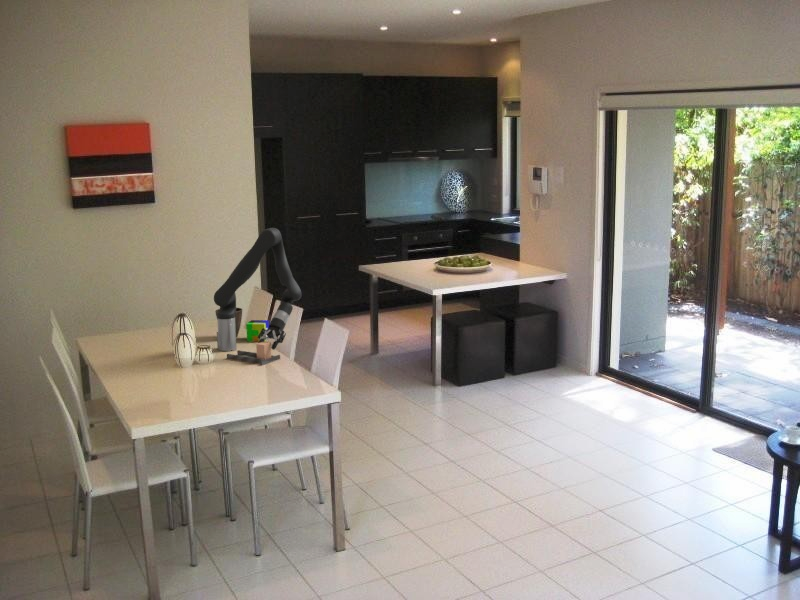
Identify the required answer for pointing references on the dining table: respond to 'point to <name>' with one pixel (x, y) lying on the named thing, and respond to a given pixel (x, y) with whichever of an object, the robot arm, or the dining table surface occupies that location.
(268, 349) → the terracotta block
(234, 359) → the dark grey flat frame
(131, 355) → the dining table surface
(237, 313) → the plant pot
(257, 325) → the puzzle toy
